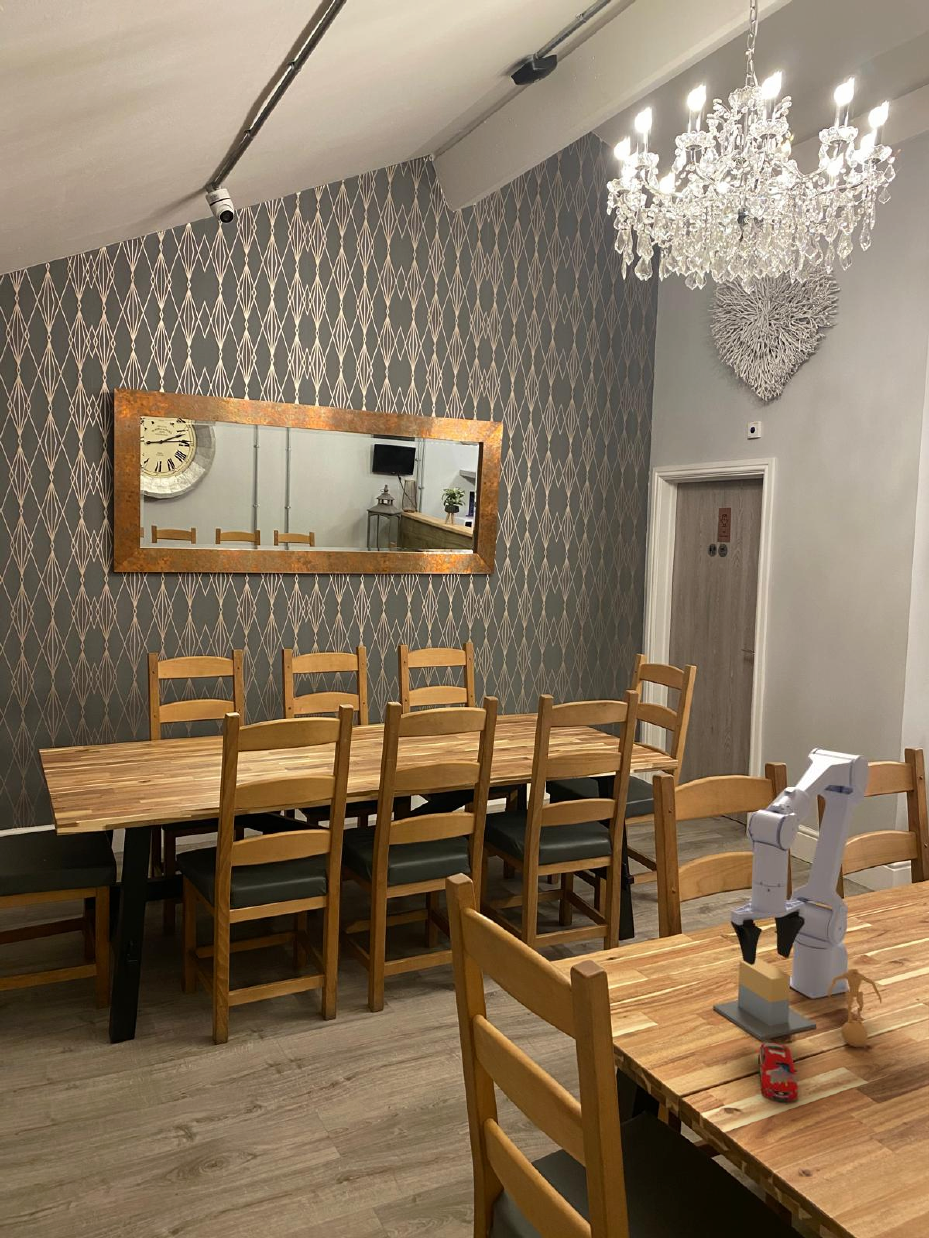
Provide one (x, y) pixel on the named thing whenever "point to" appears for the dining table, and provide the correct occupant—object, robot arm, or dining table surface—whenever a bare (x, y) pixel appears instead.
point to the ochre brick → (765, 980)
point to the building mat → (761, 1028)
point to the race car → (777, 1072)
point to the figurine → (852, 1029)
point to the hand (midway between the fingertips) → (766, 958)
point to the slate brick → (763, 1007)
